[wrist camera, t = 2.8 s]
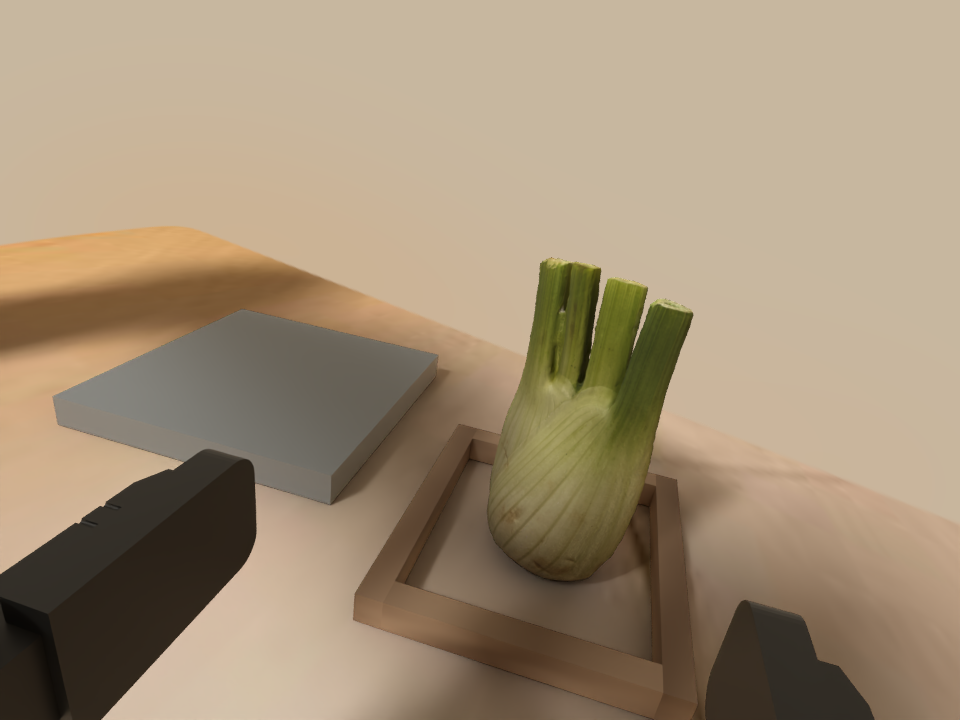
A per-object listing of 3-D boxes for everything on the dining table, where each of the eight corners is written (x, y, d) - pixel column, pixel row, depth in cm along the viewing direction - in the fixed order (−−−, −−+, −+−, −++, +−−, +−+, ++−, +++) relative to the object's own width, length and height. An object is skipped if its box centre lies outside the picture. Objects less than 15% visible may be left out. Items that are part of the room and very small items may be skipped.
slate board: (57, 424, 27) (52, 396, 27) (242, 329, 40) (242, 308, 39) (330, 504, 25) (331, 475, 24) (435, 376, 37) (438, 354, 37)
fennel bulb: (626, 597, 22) (722, 302, 17) (506, 614, 21) (573, 295, 16) (566, 500, 27) (627, 250, 22) (465, 508, 26) (507, 241, 21)
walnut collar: (353, 620, 20) (354, 593, 19) (456, 443, 30) (458, 424, 30) (686, 730, 18) (697, 704, 17) (670, 499, 28) (676, 479, 28)
